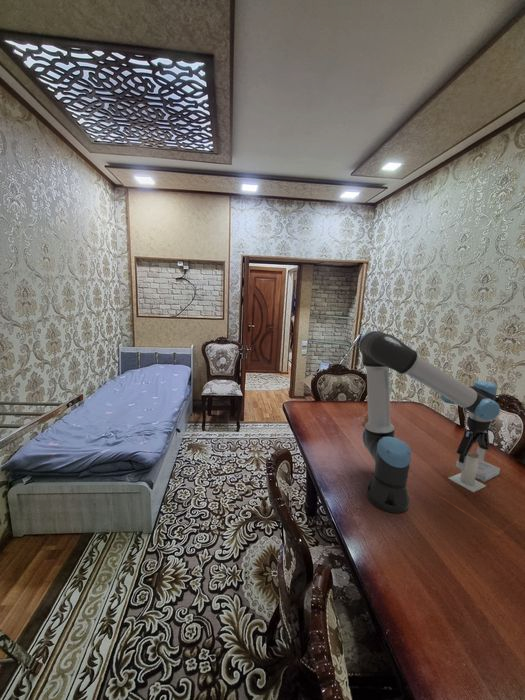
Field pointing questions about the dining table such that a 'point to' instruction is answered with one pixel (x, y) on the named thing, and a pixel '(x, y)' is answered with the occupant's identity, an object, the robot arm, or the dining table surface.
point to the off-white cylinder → (470, 469)
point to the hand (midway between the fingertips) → (470, 465)
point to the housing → (486, 471)
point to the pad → (472, 488)
